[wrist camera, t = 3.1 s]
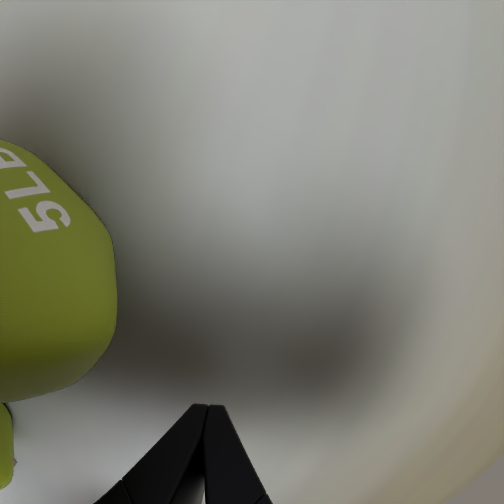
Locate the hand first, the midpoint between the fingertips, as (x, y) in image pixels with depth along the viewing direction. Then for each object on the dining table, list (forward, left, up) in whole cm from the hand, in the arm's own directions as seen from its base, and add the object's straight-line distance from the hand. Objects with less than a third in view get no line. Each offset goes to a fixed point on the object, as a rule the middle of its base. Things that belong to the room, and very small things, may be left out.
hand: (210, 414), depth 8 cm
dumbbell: (+10, 0, -3) cm, 10 cm away
